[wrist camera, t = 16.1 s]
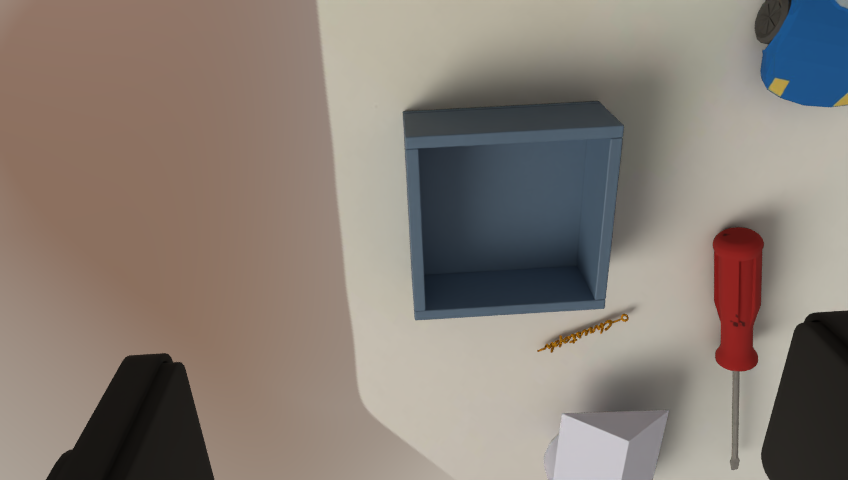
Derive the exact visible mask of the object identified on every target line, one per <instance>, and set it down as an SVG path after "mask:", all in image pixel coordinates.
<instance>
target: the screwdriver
mask: <svg viewBox="0 0 848 480" xmlns="http://www.w3.org/2000/svg"><path fill="white" fill-rule="evenodd" d="M763 246H764V242H763V239H762V237H761V236H760V235H759V234H758V233H756V232H755V231H753V230H751V229H748V228H742V227H735V228H728V229H725V230H723V231H722V232H720V233H718V234H717V235H716V237H715V238H714V241H713V249H714V302H715V305H716V308H717V312H718V315H719V318H720V321H721V344H720V346H719V347H718V349H717V350H716V352H715V358H716V361H717V363H718V364H719V365H720V366H722V367H723V368H725V369H728V370H731V371H733V397H732V457H731V460H730V464H731V469H732V470H735V469H738V466H739V461H740V460H739V458H738V426H739V371H747V370H750V369H752V368H754V367H755V366H756V365H757V363H758V355H757V352H756V351H755V350H754V348H753V325H754V322H755V319H756V317H757V314H758V311H759V309H760V306H761V281H762V249H763Z"/></svg>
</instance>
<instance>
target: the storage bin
mask: <svg viewBox="0 0 848 480" xmlns="http://www.w3.org/2000/svg"><path fill="white" fill-rule="evenodd" d="M403 124H404V142H405V161H406V179H407V197H408V215H409V234H410V252H411V270H412V287H413V301H414V315H415V320H429V319H445V318H461V317H477V316H493V315H509V314H526V313H542V312H558V311H574V310H590V309H604V308H605V298H606V290H607V280H608V271H609V262H610V252H611V243H612V234H613V224H614V215H615V206H616V196H617V187H618V178H619V168H620V159H621V150H622V140H623V138H622V137H623V131H624V125H623V124H622V123H621V122H620V121H619V120H618V119H617V118H616V117H614V116H613V115H612V114H611V113H610V112H609V111H608V110H607V109H606V108H605V107H604V106H603V105H602V104H601V103H600V102H599V101H591V102H572V103H553V104H534V105H515V106H496V107H477V108H458V109H439V110H421V111H403Z"/></svg>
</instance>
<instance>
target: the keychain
mask: <svg viewBox="0 0 848 480" xmlns="http://www.w3.org/2000/svg"><path fill="white" fill-rule="evenodd" d="M623 316H626V317H627V319H625V320H624V319H623ZM628 319H629V317H628V315H627V314H622V316H621V319H618V320H616V321H612V320H607V321H605V323H604V324H603V323H600V325H599V326H598V325H596V326H595V327H594V329H593V328H592V327H590V328H589V329H588V330H586V329H584V330H583V331H582V332H577V333H576V334H571V335H570V336H566V337H565V338H564V339H563V338H562V336H561V335H560V341H559V340H556V341H555V342H554V343H553V342H551V343H550V345H548V344H546V345H545V347H544V348H542V349H540V350H537V351H538V352H539V351H542V350H545V349H546V347H548V349H550V348H551V347H552V348H551V353H552V352H553V350H554V347H557V346H558V345H559V347H561V345H562V342H563V343H567V342H568V341H569V340H570V338H571V337H573V340H572V341H570V342H569V343H572V342H573V343H575V341H577V339H575V338H576V336H577V337H579V339H580V338H581V336H582V335H583V333H584V332H585V336H587V335H588V332H589V331H590V334H591V333H594V332H595V329H596V328H597V329H598V330H600V328H601V332H600V334H602V332H603V329H604V325H605V324H607V323H609V326H608V327H607V328H605V331H607V330H608V329H609V328H610V327H611V325H612V323H615V322H618V321H620V320H622V321H624V322H626V321H628ZM579 334H581V335H579ZM566 340H567V341H566ZM558 342H559V343H558ZM557 343H558V344H557Z"/></svg>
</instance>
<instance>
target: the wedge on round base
mask: <svg viewBox="0 0 848 480" xmlns="http://www.w3.org/2000/svg"><path fill="white" fill-rule="evenodd" d="M668 413H669V410H652V411H621V412H590V413H562V417H561V424H560V432H559V434H558V435H557V436H556V437H555V438H554V439H553V440H552V442H551V443H550V444H549V446H548V448H547V450H546V452H545V456H544V467H545V471H546V474H547V478H548V480H653V477H654V473H655V469H656V464H657V460H658V456H659V451H660V447H661V443H662V439H663V434H664V430H665V426H666V421H667V417H668Z"/></svg>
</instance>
